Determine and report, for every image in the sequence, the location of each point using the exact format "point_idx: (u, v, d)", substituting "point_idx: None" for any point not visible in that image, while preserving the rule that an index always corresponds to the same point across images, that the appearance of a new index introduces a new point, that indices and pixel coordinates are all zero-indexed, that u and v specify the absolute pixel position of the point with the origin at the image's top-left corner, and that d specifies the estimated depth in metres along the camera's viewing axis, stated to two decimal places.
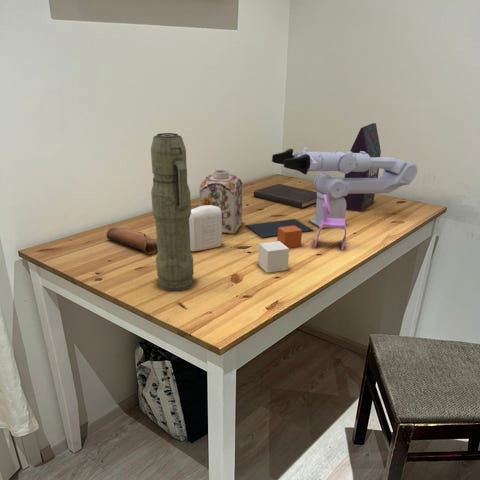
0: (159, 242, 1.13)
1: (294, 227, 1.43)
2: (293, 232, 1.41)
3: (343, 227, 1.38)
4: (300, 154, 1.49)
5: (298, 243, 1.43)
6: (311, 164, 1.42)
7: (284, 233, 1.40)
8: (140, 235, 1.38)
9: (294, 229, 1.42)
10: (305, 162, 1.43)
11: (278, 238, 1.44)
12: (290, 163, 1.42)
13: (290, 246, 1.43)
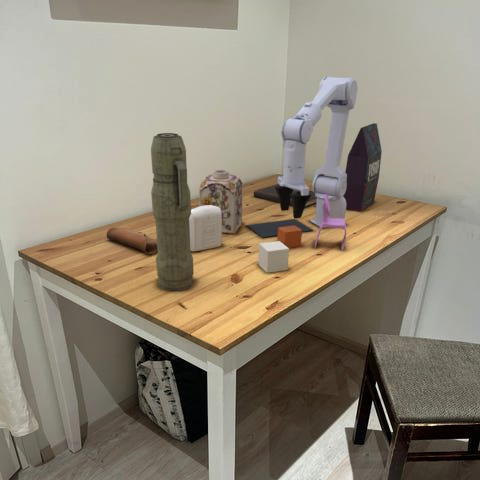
0: (159, 242, 1.13)
1: (294, 227, 1.43)
2: (293, 232, 1.41)
3: (343, 227, 1.38)
4: None
5: (298, 243, 1.43)
6: (303, 194, 1.31)
7: (284, 233, 1.40)
8: (140, 235, 1.38)
9: (294, 229, 1.42)
10: None
11: (278, 238, 1.44)
12: (298, 212, 1.36)
13: (290, 246, 1.43)
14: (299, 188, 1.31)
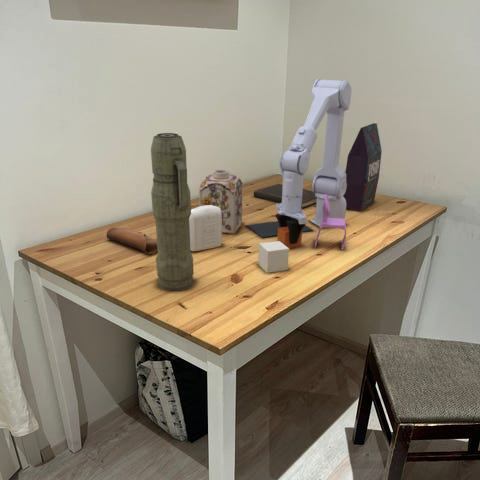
0: (159, 242, 1.13)
1: None
2: None
3: (343, 227, 1.38)
4: None
5: (298, 243, 1.43)
6: None
7: (284, 233, 1.40)
8: (140, 235, 1.38)
9: None
10: None
11: (278, 238, 1.44)
12: (294, 238, 1.41)
13: (290, 246, 1.43)
14: (297, 217, 1.35)
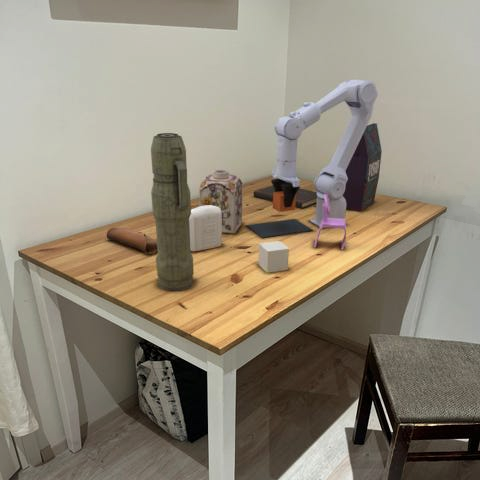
0: (159, 242, 1.13)
1: None
2: None
3: (343, 227, 1.38)
4: None
5: (292, 207, 1.51)
6: None
7: (279, 197, 1.48)
8: (140, 235, 1.38)
9: None
10: None
11: (273, 202, 1.52)
12: (288, 201, 1.49)
13: (285, 210, 1.51)
14: (291, 180, 1.43)
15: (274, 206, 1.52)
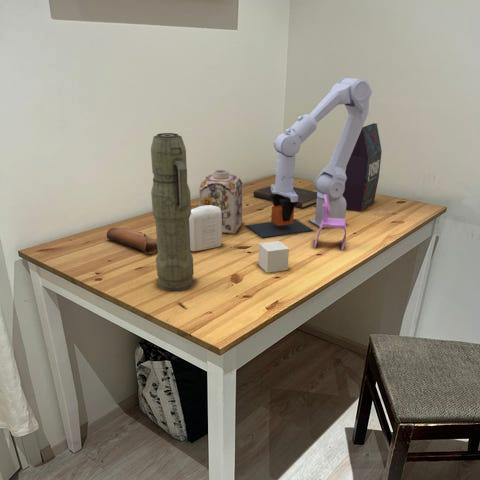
0: (159, 242, 1.13)
1: None
2: None
3: (343, 227, 1.38)
4: None
5: (290, 220, 1.55)
6: (293, 201, 1.47)
7: (277, 211, 1.52)
8: (140, 235, 1.38)
9: None
10: None
11: (272, 216, 1.56)
12: (287, 215, 1.53)
13: (283, 223, 1.54)
14: (289, 195, 1.47)
15: (273, 220, 1.56)
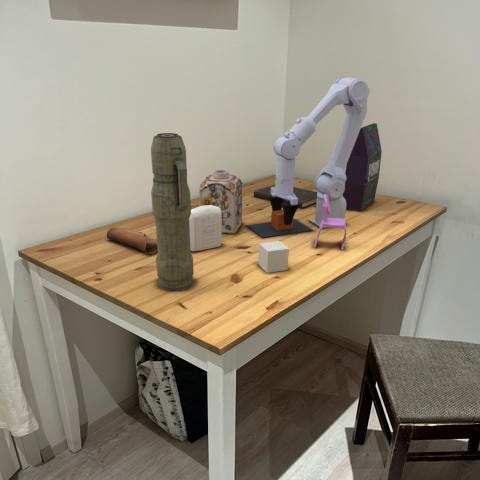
0: (159, 242, 1.13)
1: None
2: None
3: (343, 227, 1.38)
4: None
5: (290, 225, 1.56)
6: None
7: (277, 216, 1.53)
8: (140, 235, 1.38)
9: None
10: None
11: (272, 221, 1.57)
12: (288, 219, 1.52)
13: (283, 228, 1.55)
14: (289, 198, 1.47)
15: (272, 224, 1.57)
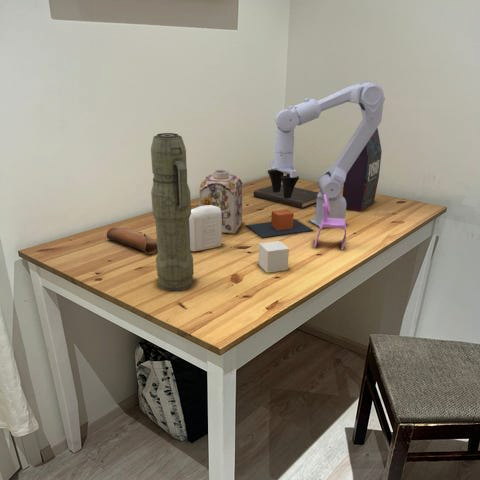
0: (159, 242, 1.13)
1: (286, 211, 1.56)
2: (286, 215, 1.53)
3: (343, 227, 1.38)
4: None
5: (290, 225, 1.56)
6: None
7: (277, 216, 1.53)
8: (140, 235, 1.38)
9: (286, 212, 1.55)
10: None
11: (272, 221, 1.57)
12: (288, 193, 1.53)
13: (283, 228, 1.55)
14: (288, 171, 1.48)
15: (272, 224, 1.57)
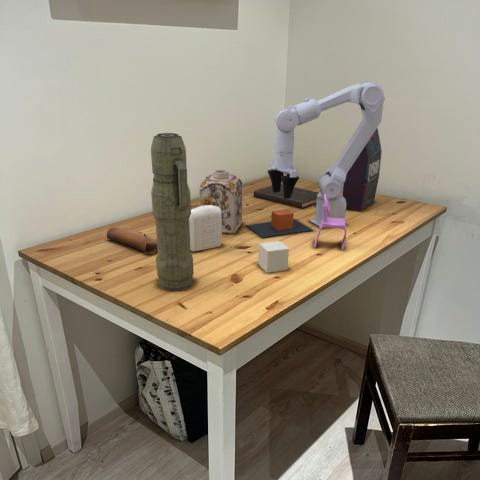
0: (159, 242, 1.13)
1: (286, 211, 1.56)
2: (286, 215, 1.53)
3: (343, 227, 1.38)
4: None
5: (290, 225, 1.56)
6: None
7: (277, 216, 1.53)
8: (140, 235, 1.39)
9: (286, 212, 1.55)
10: None
11: (272, 221, 1.57)
12: (288, 193, 1.53)
13: (283, 228, 1.55)
14: (288, 171, 1.48)
15: (272, 224, 1.57)
